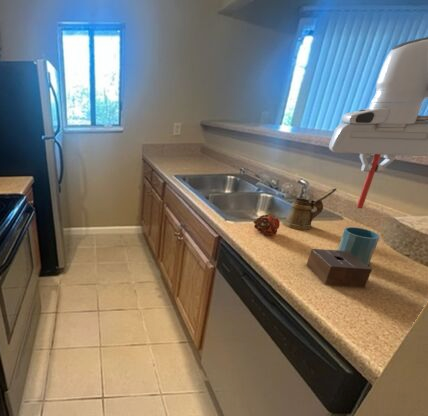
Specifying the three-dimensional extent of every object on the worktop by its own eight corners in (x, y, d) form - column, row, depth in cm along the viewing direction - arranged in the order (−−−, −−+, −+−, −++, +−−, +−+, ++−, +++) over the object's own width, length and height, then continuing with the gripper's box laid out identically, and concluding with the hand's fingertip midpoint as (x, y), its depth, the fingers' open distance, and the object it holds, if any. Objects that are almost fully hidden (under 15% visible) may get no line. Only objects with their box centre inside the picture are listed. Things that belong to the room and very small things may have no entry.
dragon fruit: (262, 242, 104) (260, 234, 115) (286, 233, 100) (282, 226, 111) (251, 223, 105) (250, 216, 115) (274, 213, 101) (271, 207, 111)
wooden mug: (322, 235, 106) (336, 191, 100) (282, 225, 115) (292, 184, 108) (324, 228, 112) (338, 185, 106) (286, 219, 121) (296, 180, 114)
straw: (361, 207, 75) (387, 132, 68) (363, 208, 74) (389, 132, 67) (355, 206, 76) (380, 131, 68) (357, 208, 74) (383, 132, 67)
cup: (362, 256, 92) (372, 229, 88) (373, 269, 85) (384, 240, 81) (332, 251, 95) (341, 225, 91) (340, 263, 88) (349, 235, 84)
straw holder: (341, 267, 86) (347, 250, 83) (364, 287, 76) (372, 269, 74) (306, 265, 87) (311, 248, 85) (324, 284, 78) (331, 266, 76)
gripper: (442, 114, 65) (419, 172, 70) (335, 114, 73) (321, 166, 78) (461, 116, 60) (434, 177, 64) (343, 115, 67) (327, 170, 72)
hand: (371, 171), depth 71 cm, fingers closed on straw, 1 cm apart
